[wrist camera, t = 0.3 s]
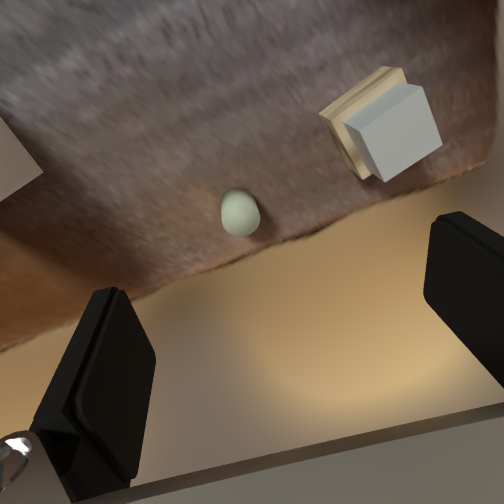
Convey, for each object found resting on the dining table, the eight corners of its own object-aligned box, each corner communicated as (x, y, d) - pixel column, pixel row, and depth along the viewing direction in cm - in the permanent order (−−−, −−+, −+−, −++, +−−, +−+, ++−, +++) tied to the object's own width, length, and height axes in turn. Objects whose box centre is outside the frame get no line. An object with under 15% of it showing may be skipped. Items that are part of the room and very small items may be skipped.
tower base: (317, 113, 42) (330, 120, 38) (380, 65, 40) (401, 68, 36) (348, 168, 47) (362, 180, 42) (406, 127, 45) (427, 136, 40)
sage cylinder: (213, 201, 47) (214, 217, 42) (241, 180, 46) (245, 194, 41) (234, 226, 49) (237, 243, 45) (262, 206, 48) (267, 222, 44)
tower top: (342, 121, 38) (359, 131, 34) (397, 81, 37) (422, 86, 32) (366, 168, 42) (384, 182, 37) (417, 134, 40) (442, 144, 36)
